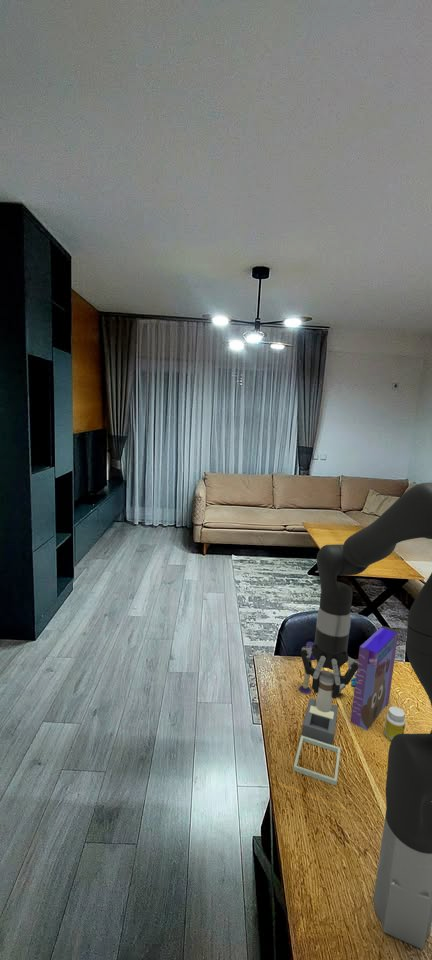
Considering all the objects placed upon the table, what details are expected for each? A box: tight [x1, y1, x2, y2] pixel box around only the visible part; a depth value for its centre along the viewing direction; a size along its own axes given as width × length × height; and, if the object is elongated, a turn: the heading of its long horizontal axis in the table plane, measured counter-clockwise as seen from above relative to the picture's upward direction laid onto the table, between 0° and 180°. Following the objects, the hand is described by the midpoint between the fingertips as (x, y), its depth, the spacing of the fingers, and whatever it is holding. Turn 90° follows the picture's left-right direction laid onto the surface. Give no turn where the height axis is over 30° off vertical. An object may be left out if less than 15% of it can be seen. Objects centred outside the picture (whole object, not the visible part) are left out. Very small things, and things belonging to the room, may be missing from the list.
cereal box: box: [350, 625, 399, 731], centre depth 122 cm, size 17×5×24 cm, turn 139°
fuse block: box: [301, 697, 339, 746], centre depth 116 cm, size 12×8×10 cm, turn 159°
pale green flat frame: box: [292, 734, 342, 786], centre depth 104 cm, size 11×10×2 cm
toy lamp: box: [298, 641, 317, 695], centre depth 130 cm, size 5×5×17 cm
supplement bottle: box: [383, 706, 406, 742], centre depth 114 cm, size 5×5×8 cm
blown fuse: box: [315, 669, 335, 712], centre depth 101 cm, size 4×4×8 cm
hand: (325, 693), depth 101 cm, fingers closed on blown fuse, 3 cm apart
